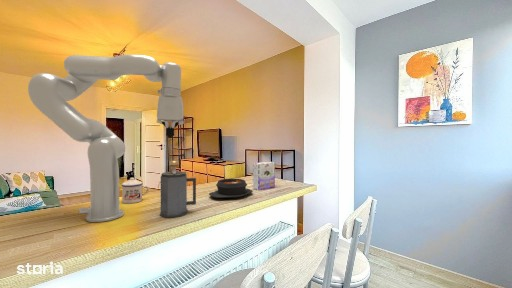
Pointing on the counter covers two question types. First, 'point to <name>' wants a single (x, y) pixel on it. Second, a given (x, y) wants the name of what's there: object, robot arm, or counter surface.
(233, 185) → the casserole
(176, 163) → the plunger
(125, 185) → the teacup with lid
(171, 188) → the coffee press
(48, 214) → the counter surface
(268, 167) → the candy box
